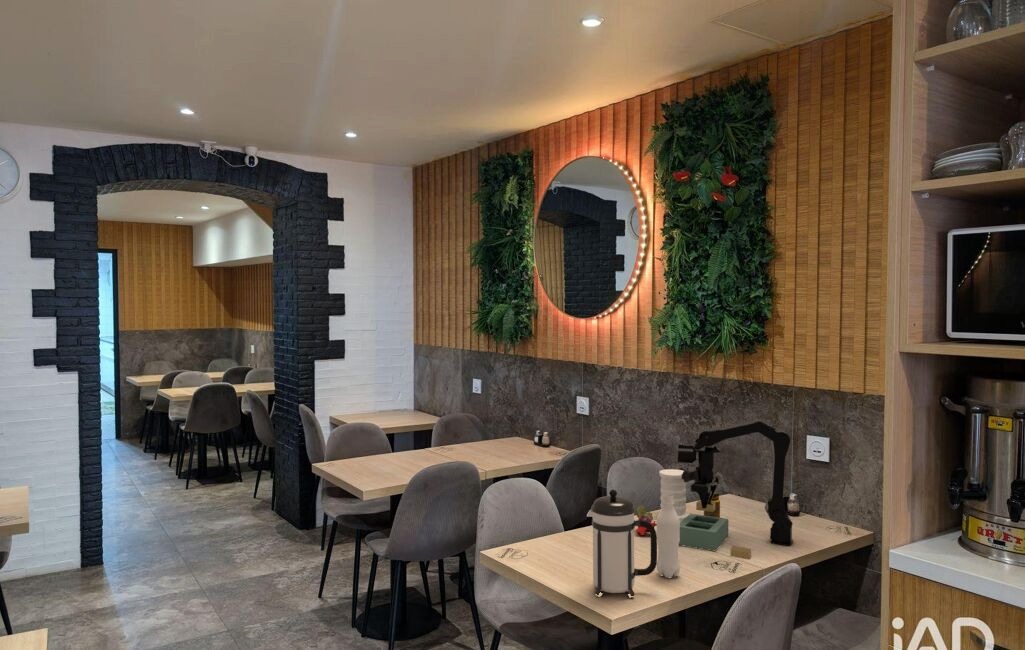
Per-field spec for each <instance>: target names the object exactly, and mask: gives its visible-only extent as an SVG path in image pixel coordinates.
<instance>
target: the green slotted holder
mask: <svg viewBox="0 0 1025 650" xmlns="http://www.w3.org/2000/svg"><path fill="white" fill-rule="evenodd" d="M727 537H728V538H729V518H725V517H720V518H719V517H712V516H705V515H704V514H703V515H702V514H698V513H697V514H696V513H689V514H688V516H687V517H686V518H684V519H683V520H682V521H680V541H679V545H678V546H681V545H685V546H684V547H687V546H691V547H690V548H693V547H697V548H696V549H699V548H703V549H702V550H705V549H710V550H715V551H714V552H717V550H718V549H719V548H720V547H721V546H722V544H723V543H725V541H726V540H727V539H728V538H727ZM726 538H727V539H726ZM725 539H726V540H725ZM720 545H721V546H720ZM719 546H720V547H719ZM718 547H719V548H718ZM717 548H718V549H717ZM716 549H717V550H716ZM710 550H709V551H710Z"/></svg>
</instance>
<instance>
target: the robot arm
mask: <svg viewBox="0 0 1025 650" xmlns="http://www.w3.org/2000/svg"><path fill="white" fill-rule="evenodd" d="M755 433H759V434H761V436H764V437H765V438H767V439H768V440H770V444H771V450H772V454H773V455H772V472H771V475H772V476H771V489H770V495H769V497H766V496H765V497H764V498H765V505H764V509H765V512H766V513H767V516H768V517H769V519H770V521H772V524H771V527H770V529H769V530H770V531H769V532H770V534H769V535H770V536H769V537H770V539H769V540H770V543H771V544H774V545H775V544H776V545H782V546H787V547H788V546H789V547H790V546H791V545H792V543H793V542H794V539H793V524H794V523H793V522H792V520H791V518H790V516H789V515H788V514H787V512H786V505H785V499H784V485H785V483H784V482H785V471H786V470H785V468H786V457H787V453H788V451H789V449H790V444H791V438H790V435H789V434H788V433H787V432H786V431H785V430H783V429H780V428H779V429H778V428H777V429H776V428H775V427H773V426H771V425H769V424H767V423H766V422H763V421H762V420H761V419H754V420H752V421H748V422H743V423H740V424H735V425H731V426H726V427H706V428H705V427H703V428H701V429H700V430H699V431H698V433H697V434H698V435H697V438H696V439H695V440H694V441H693V443H692V444H684V443H678V444H677V457H676V458H677V459H676V460H677V461H676V462H677V464H678V463H679V464H681V463H682V464H694V463H695V462H696V461H697V466H696V467H695V469H691V470H688V469H687V470H683V471H684V472H683V474H682V479H683V480H684V482H686V483H688V482H690V481H695V482H692V484H691V485H690V492H695V493H697V494H698V496H699V501H701V504H702V508H706V506H707V504H708V502H711V500H712V498H713V495H714V493H715V491H716V492H717V489H718V488H719V486H718V485H719V484H721V483H722V482H721V481H722V480H721V479H722V478H721V476H720V475H719V474H715V470H717V468H716V467H717V466H716V465H715V454H720V452H721V449H720V448H718V447H717V444H718V443H720V442H723V441H724V440H727V439H728V440H729V439H732V438H737V437H741V436H745V435H751V434H755ZM697 454H698V455H697ZM715 483H717V485H716V484H715Z"/></svg>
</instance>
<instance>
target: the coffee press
mask: <svg viewBox="0 0 1025 650" xmlns="http://www.w3.org/2000/svg"><path fill="white" fill-rule="evenodd" d="M608 494H609V495H606V496H601V497H597V498H596V499H595V500H594V501H593V504H592V505H591V506H590V507H591V508H590V510H588V512H587V514H586V517H587V518H588V517H590V518H592V519H591V526H592V567H593V568H592V571H593V572H592V576H593V577H592V582H593V585H594V586H595V588H596V590H595V593H594V595H595V594H597V595H599V593H600V592H601V593H603V594H604V593H611V594H621V593H622V594H623V593H625V595H626V596H627V595H628V594H631V596H634V595H635V596H636V594H635V592H634V589H633V588H634V587H635V577H637V576H639V577H640V576H648V575H650V574H652V573H653V572H654V571H655V569H657V561H658V541H657V530H656V529H655V527H653V525H652V524H651V523H652V522H651V523H649V522H647V521H644V520H640V521H637V520H635V513H636V507H635V505H634V503H633V501H631V500H630V499H628V498H627V497H624V496H618V492H617V490H615V489H611V490H610V491H609V493H608ZM638 526H641V527H645V528H647V529H648V530H649V532H648V533H649V535H650V562H649V565H648V566H647V567H645V568H635V528H636V527H638Z"/></svg>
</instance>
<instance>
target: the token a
mask: <svg viewBox="0 0 1025 650" xmlns="http://www.w3.org/2000/svg"><path fill="white" fill-rule="evenodd" d="M695 505H696V506H695V507H696V508H695V509H696V511H702V512H704V511H709V512H714V510H715V502H708V504H707V506H706V508H702V504H701V500H700V499H699V500H698V501H697V502H696V504H695Z"/></svg>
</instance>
